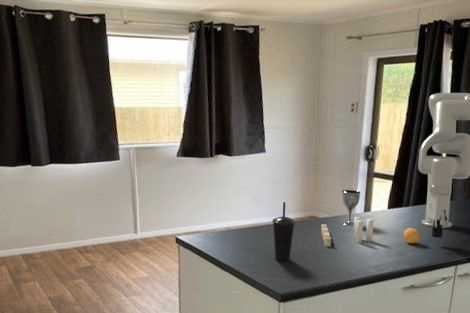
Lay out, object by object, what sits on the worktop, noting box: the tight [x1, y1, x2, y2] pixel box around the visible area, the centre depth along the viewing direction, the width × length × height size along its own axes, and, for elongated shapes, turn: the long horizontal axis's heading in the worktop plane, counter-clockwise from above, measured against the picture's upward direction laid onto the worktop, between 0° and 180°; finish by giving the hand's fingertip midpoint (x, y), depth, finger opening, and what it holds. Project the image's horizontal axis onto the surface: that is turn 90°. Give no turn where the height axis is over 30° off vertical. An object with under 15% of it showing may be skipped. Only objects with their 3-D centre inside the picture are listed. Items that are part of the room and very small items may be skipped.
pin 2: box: [354, 220, 364, 244], centre depth 164 cm, size 2×2×8 cm
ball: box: [402, 227, 421, 245], centre depth 164 cm, size 6×6×6 cm
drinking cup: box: [272, 201, 296, 263], centre depth 143 cm, size 8×8×20 cm
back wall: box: [320, 223, 332, 247], centre depth 168 cm, size 20×2×3 cm, turn 173°
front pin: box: [365, 218, 374, 243], centre depth 166 cm, size 2×2×8 cm
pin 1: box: [352, 216, 362, 240], centre depth 169 cm, size 2×2×8 cm
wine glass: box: [341, 189, 361, 227], centre depth 191 cm, size 8×8×15 cm
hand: (436, 236), depth 162 cm, fingers closed
